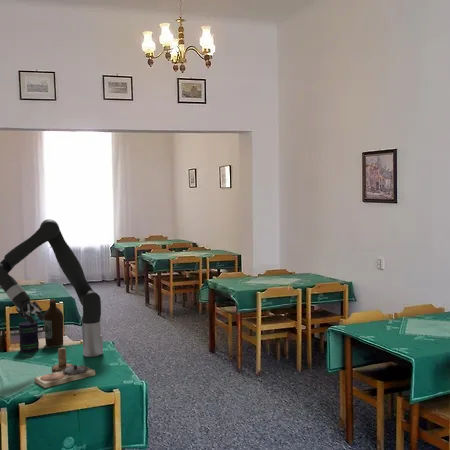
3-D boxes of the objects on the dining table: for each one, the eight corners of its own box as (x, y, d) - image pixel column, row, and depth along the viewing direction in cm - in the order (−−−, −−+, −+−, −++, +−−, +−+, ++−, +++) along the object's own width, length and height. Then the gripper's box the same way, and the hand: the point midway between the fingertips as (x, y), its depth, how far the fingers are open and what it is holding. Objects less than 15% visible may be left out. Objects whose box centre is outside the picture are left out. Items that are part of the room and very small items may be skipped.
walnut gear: (67, 364, 269) (67, 344, 269) (77, 369, 262) (76, 348, 261) (48, 369, 263) (47, 348, 262) (57, 374, 255) (56, 352, 255)
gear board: (84, 369, 261) (83, 359, 261) (95, 374, 253) (94, 364, 253) (34, 382, 245) (34, 371, 245) (45, 388, 237) (44, 377, 237)
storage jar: (42, 350, 297) (41, 322, 296) (24, 354, 290) (23, 326, 290) (34, 346, 304) (32, 320, 304) (16, 350, 298) (15, 323, 297)
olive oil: (56, 340, 316) (54, 297, 315) (68, 343, 310) (66, 299, 309) (40, 344, 308) (38, 300, 306) (52, 347, 301) (50, 302, 300)
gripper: (14, 293, 259) (35, 319, 257) (31, 288, 273) (51, 313, 271) (4, 303, 260) (25, 329, 258) (21, 298, 274) (41, 323, 272)
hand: (38, 321), depth 264 cm, fingers open, 8 cm apart
